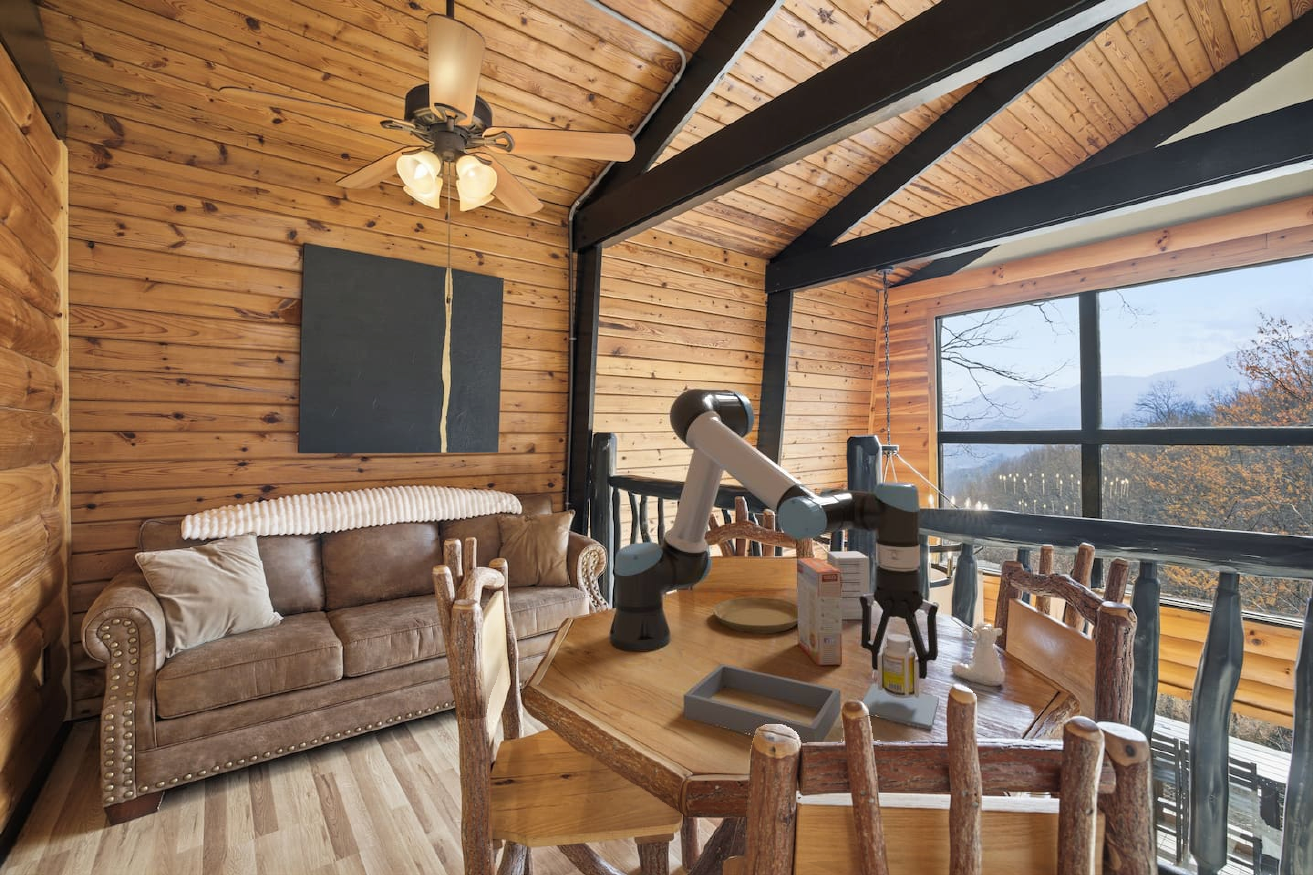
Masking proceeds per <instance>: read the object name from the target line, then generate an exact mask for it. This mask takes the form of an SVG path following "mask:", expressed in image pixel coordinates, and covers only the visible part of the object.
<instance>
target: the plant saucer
mask: <svg viewBox="0 0 1313 875" xmlns="http://www.w3.org/2000/svg"><path fill="white" fill-rule="evenodd" d="M712 610H713V611H712V612H713V614H714V616H715V618H716V619H717V620H718V621H719V622H720V623H721V624H723V626H725V627H727V628H729V629H730V630H731V629H732V630H735V631H738V632H742V633H749V634H775V633H781V632H785V631H787V630H790V629H792V628H793V627H795V626H796V625H798V604H796V603H794V602H791V601H788V600H784V599H781V598H780V599H779V598H774V597H772V598H771V597H763V596H760V597H759V596H747V597H746V596H745V597H738V598H737V597H736V598H731V599H728V600H724V601H722V602H719V603H718V604H716V605H715V606H714V607H713V609H712Z"/></svg>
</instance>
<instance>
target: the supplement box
mask: <svg viewBox="0 0 1313 875" xmlns="http://www.w3.org/2000/svg"><path fill="white" fill-rule="evenodd" d="M826 563H828V564H830V565H831V566H833V567H835V568H837V569H838V570H840V571H841V572H842V620H862V606H861V603H860V600H859V599H860V597H861V596H862V595H863V594H864V593H866V594H871V591H870V590H871V589H870V588H871V585H870V584H871V580H870V579H871V578H870V557H868V556H867V555H865V554H864V553H862V552H859V551H857V550H851V551H850V550H849V551H827V552H826Z"/></svg>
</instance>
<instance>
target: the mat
mask: <svg viewBox="0 0 1313 875" xmlns="http://www.w3.org/2000/svg"><path fill="white" fill-rule="evenodd" d="M862 702H863V703H864V704H866V705H867V707H868V709H869V714H870V717H873V716H875V715H877V716H879V717H882V718H885V719H884V720H886V719H887V720H886V721H890V722H894V723H895V722H896V723H899V724H904V725H907V724H910V725H909V726H911V725H914V726H913V727H915V726H919V727H918V728H920V727H921V728H920V729H924V728H926V729H925V730H928V729H930V730H929V731H932V730H933V726H932V725H934V722H935V718H936V715H935V714H937V710H938V706H939V702H940V697H938V696H934V695H929V694H924V693H921V694H920V697H919V698H915V697H914V696H913V697H910V698H898V697H894V696H891V695H889V694H888V693H886V692H885V690H884V688H883V690H878V683H877V684H876V683H872V684H871V686H870V688H869V689H868V691H867V692H866V695H865V697H864V699H863V700H862ZM872 715H873V716H872Z"/></svg>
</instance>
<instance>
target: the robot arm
mask: <svg viewBox="0 0 1313 875" xmlns="http://www.w3.org/2000/svg"><path fill="white" fill-rule="evenodd" d="M669 421H670V422H669V423H670V425H671V428H672V431H673V432H674V434H675V435H676V436H677V437H678V438H679V440H681V441H682V443H684V444H685V445H687V447H689V449H692V455H691V459H690V462H689V467H688V469H687V473H686V477H685V481H684V483H683V484H684V485H683V488H682V492H681V496H680V500H679V503H678V507H677V511H676V512H675V513H676V514H675V517H674V522H673V525H672V528H671V529H669V530H667V531H666V532H665V533H664V537H663V540H662V543H661V544H659V543H657V542H651V541H647V542H646V541H645V542H635V543H632V544H629V545H625V546H623V547H622V548H619V550H618V551H617V552H616V555H615V563H614V564H615V565H614V572H615V573H614V574H615V612H614V616H613V619H612V622H611V626H610V630H609V634H608V635H609V638H608V639H609V644H610V645H611V646H612V647H614V648H616V649H617V650H618V649H619V650H623V651H627V652H646V651H647V652H648V651H653V650H658V649H661V648H664V647H665V646H667V645H668V644H669V643H671V642H670V641H671V629H670V626H669V624H668V621H667V620H668V619H667V617H666V615H665V611H664V606H663V604H664V602H663V601H664V600H663V598H664V597H663V594H664V593H668V592H669V593H670V592H672V591H678V590H680V589H681V590H682V589H684V588H685V589H686V588H691V587H694V586H695V585H697V584H698V585H699V584H700V583H701V582H703V581H704V580H705V579H706V578H708V577H707V576H708V575H709V574H710V572H711V571H710V570H711V568H712V558H711V557H710V555H711V552H710V549H709V548H708V546H709V545H708V542H707V540H706V539H705V536H706V533H707V529H708V526H709V522H710V518H711V516H712V512H713V508H714V507H715V506H714V504H715V501H716V498H717V495H718V491H719V488H720V485H721V481H722V477H723V474H724V471H725V472H726V473H727V474H728V475H730V476H731V478H733V479H734V480H736V481H737V482H738V483H739V484H740V485H742V486H743V487H744V488H746V490H748V491H749V492H750V493H751V494H753V495H754V496H755V497H756V498H757V499H758V500H760V502H762V503H763V504H765V505H766V506H767V507H768V508H769V509H771V510H772V511H773V512H774V513H775V514H777V521H778V522H777V523H778V525H779V526H780V528H781V530H782V532H783V533H784V534H785V535H786V536H787V537H789V538H791V539H794V540H808V539H815V538H818V537H820V536H824V535H828V534H832V533H837V532H838V533H839V532H842V531H847V530H859V531H866V532H874V533H875V562H876V563H877V564H878V565H877V566H876V568H875V569H876V571H875V572H876V574H875V576H876V577H875V578H876V583H875V584H876V588H875V590H874V592H873V593H870V594H866V593H864V594H863V595H862V596H861V597H860V599H859V600H860V603H861V606H862V619H861V638H860V640H861V641H860V642H861V644H860V645H861V647H862V649H865V650H866V649H867V650H869V652H871V668H872V670H875V671H877V685H878V690H883V688H884V687H883V649H882V650H881V647H882V643H883V640H884V637H885V634H886V631H887V627H888V624H889V621H890V618H901V619H902V620H905V623H906V624H907V628H908V631H909V634H910V637H911V640H912V643H913V646H914V649H915V650H914V651H915V654H916V656H915V660H914V697H915V698H919V697H920V694H922V682H921V681H922V680H926V678H927V675H928V661H937V658H938V656H939V644H938V631H937V630H938V629H937V628H938V627H937V613H938V610H939V608H940V606H939V603H938V602H935V601H933V602H931V601H928V600H926V599H924V597H923V594H922V592H921V570H920V569H919V566H921V545H920V543H921V542H920V511H921V506H920V498H919V496H920V495H919V489H918V487H917V486H916V485H915V484H913V483H910V482H902V481H901V482H898V481H897V482H896V481H895V482H893V481H889V482H888V481H887V482H886V481H885V482H879V483H877V484H876V485H875V486H874V491H863V490H862V491H861V490H860V491H859V490H850V489H842V488H831V489H830V488H828V489H827V488H826V489H822V490H821V492H820V493H818V494H817V493H816V492H814V491H812V490H811V489H809V488H808V487H807V486H806V485H804V484H803V483H801V482H800V481H799V480H798V479H796V477H793V476H792V475H791V474H790V473H789V472H787V471H786V470H785V469H783V468H782V467H781V466H779V464H777V463H776V462H774V461H773V460H771V459H770V458H769V457H768V456H766V455H765V454H764V453H762V452H761V451H759V450H758V449H757V448H755V447H754V446H753V445H751V443H749V442H748V441H746V439H743V438H745V437H746V436H748V435H749V434H750V433H751V431H752V430H753V428H754V425H755V411H754V407H753V406H752V402H751V401H750V400H749V398H747V396H746V395H744V394H743V393H741V392H739V391H734V390H729V389H703V388H694V389H688V390H685V391H684V392H682V393H681V394H679V395H678V396H677V397H676V398H675V399H674V401H673V403H672V405H671V406H670V411H669ZM875 601H876V603H877V604H878V606H879V607H880V609H881V610H882V613H881V615H880V619H879V620H880V621H879V623H878V626H877V629H876V633H875V636H874V639H873V641H872V640H871V636H872V612H873V611H872V606H874V602H875ZM921 607H922V608H923V609H924V610H923V612H924V614H926V615H927V616H926V624H927V625H926V626H927V627H926V628H927V638H928V639H927V640H928V650H927V649H926V647H925V643H924V640H923V637H922V634H921V630H920V627H919V624H918V620H917V615H916V612H917V611H918V610H919V609H920V608H921Z"/></svg>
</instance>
